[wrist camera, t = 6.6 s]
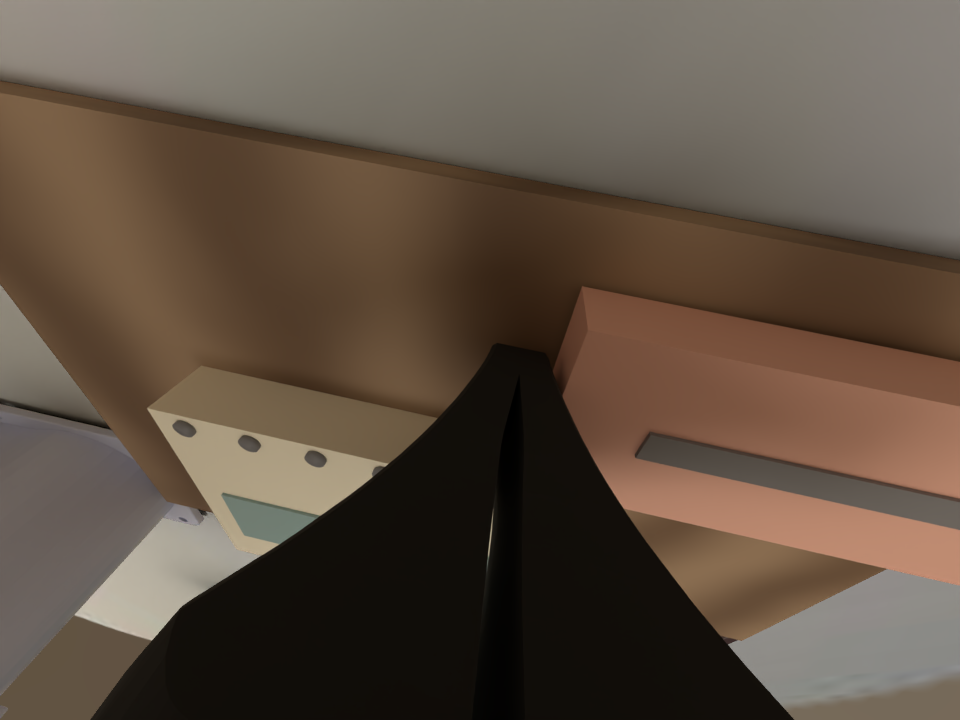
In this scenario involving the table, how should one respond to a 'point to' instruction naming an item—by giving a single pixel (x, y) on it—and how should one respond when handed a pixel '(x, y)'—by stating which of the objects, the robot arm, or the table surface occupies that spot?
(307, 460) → the ticket
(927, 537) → the stub
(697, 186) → the table surface
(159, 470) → the board
